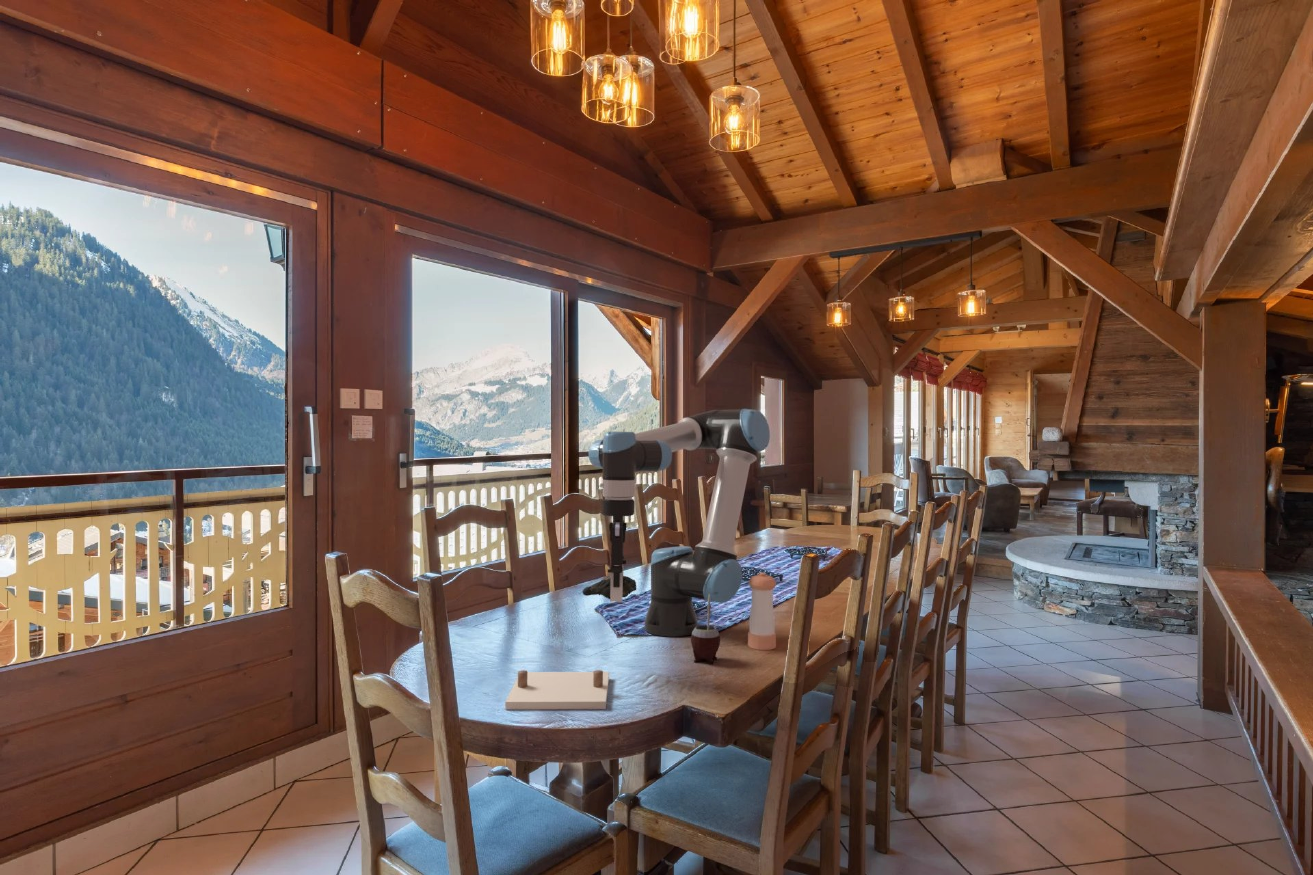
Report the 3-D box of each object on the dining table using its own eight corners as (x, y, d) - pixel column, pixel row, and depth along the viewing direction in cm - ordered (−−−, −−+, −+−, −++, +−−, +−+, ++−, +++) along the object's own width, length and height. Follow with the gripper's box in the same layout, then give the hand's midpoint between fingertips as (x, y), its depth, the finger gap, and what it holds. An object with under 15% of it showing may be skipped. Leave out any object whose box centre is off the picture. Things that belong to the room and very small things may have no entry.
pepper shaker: (779, 643, 180) (779, 571, 180) (771, 651, 173) (772, 576, 173) (752, 640, 183) (753, 568, 183) (744, 647, 176) (744, 573, 176)
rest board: (609, 678, 154) (609, 658, 153) (605, 708, 137) (605, 686, 136) (519, 678, 153) (520, 658, 153) (505, 709, 136) (505, 686, 136)
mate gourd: (700, 667, 161) (700, 604, 161) (683, 657, 168) (684, 596, 168) (726, 662, 165) (727, 600, 165) (709, 653, 172) (710, 593, 172)
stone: (590, 592, 163) (590, 570, 163) (641, 596, 159) (641, 573, 159) (576, 598, 157) (576, 575, 157) (629, 603, 152) (629, 579, 152)
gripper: (604, 494, 168) (602, 586, 168) (599, 502, 147) (598, 607, 147) (634, 494, 168) (633, 587, 168) (634, 502, 147) (632, 607, 147)
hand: (616, 596), depth 157 cm, fingers closed on stone, 8 cm apart
